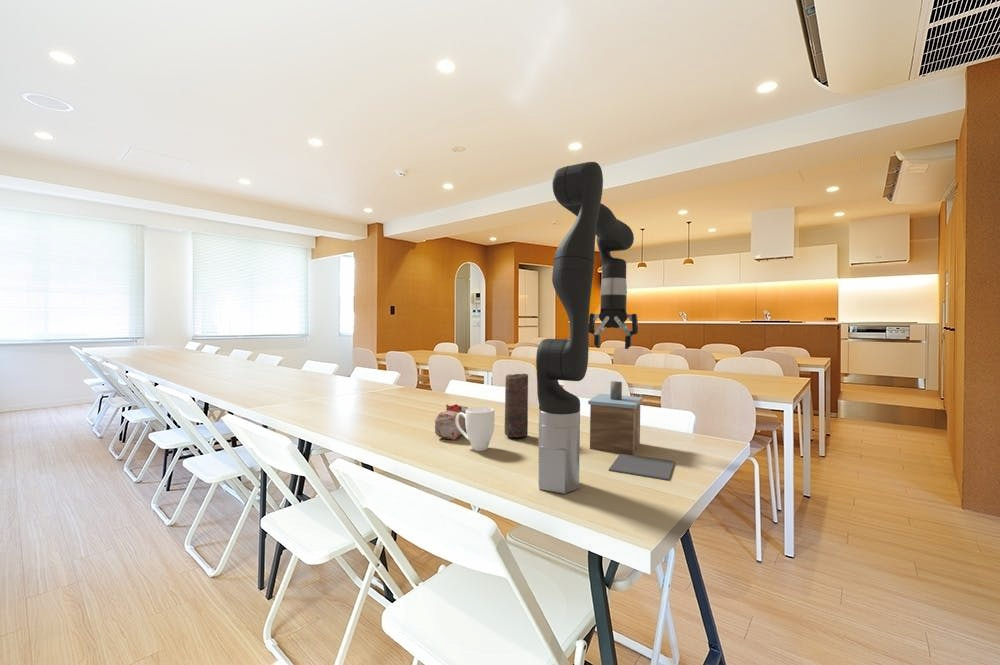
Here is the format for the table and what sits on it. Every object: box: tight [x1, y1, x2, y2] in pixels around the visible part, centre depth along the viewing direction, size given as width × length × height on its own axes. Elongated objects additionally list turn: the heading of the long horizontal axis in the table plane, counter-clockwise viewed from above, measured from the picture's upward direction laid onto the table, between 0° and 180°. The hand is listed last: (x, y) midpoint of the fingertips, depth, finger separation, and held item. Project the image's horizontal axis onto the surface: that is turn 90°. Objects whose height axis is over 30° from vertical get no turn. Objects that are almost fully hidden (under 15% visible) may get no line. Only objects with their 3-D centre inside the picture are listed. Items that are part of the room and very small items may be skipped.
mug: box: [455, 406, 495, 452], centre depth 127 cm, size 12×8×11 cm
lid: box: [587, 380, 644, 409], centre depth 129 cm, size 13×13×7 cm
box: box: [589, 403, 641, 455], centre depth 129 cm, size 12×12×13 cm
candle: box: [504, 373, 529, 438], centre depth 138 cm, size 8×7×20 cm
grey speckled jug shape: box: [434, 404, 469, 441], centre depth 141 cm, size 14×8×10 cm, turn 163°
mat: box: [608, 453, 675, 481], centre depth 112 cm, size 14×14×1 cm
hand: (612, 348), depth 131 cm, fingers open, 8 cm apart
